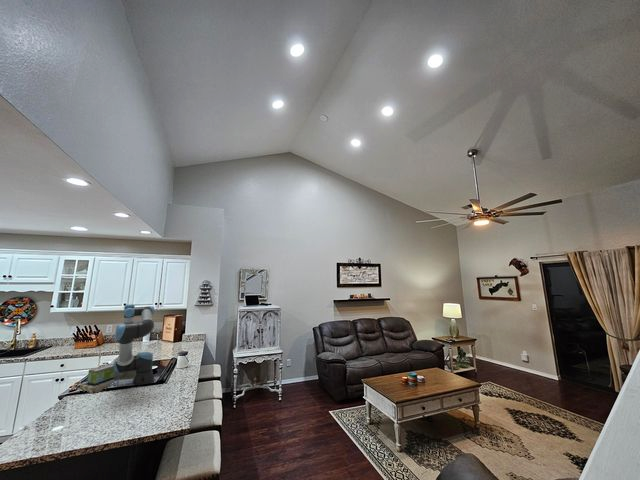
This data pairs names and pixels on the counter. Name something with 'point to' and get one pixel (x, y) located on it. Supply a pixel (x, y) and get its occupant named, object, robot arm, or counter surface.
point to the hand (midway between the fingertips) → (126, 349)
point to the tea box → (101, 375)
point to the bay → (93, 388)
